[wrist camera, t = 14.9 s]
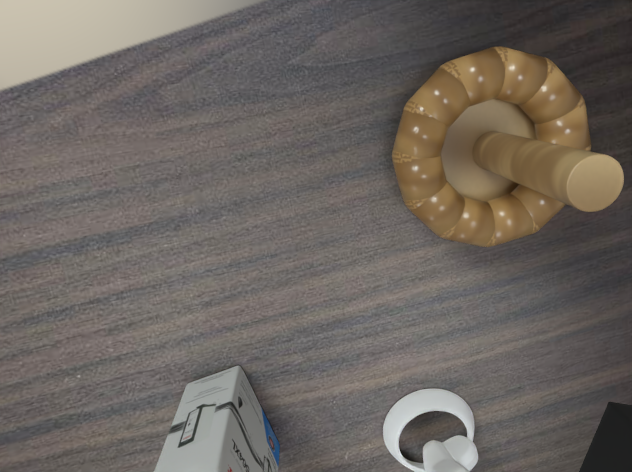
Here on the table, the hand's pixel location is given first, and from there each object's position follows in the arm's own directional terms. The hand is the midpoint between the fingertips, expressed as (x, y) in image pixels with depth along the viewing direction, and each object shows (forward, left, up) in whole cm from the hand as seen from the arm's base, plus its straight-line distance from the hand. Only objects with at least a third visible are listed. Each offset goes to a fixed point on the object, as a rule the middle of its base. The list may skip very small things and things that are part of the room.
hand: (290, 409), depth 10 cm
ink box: (+20, 0, -26) cm, 33 cm away
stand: (-5, +13, -26) cm, 29 cm away
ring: (-5, +12, -23) cm, 27 cm away
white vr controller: (+18, +16, -26) cm, 35 cm away
